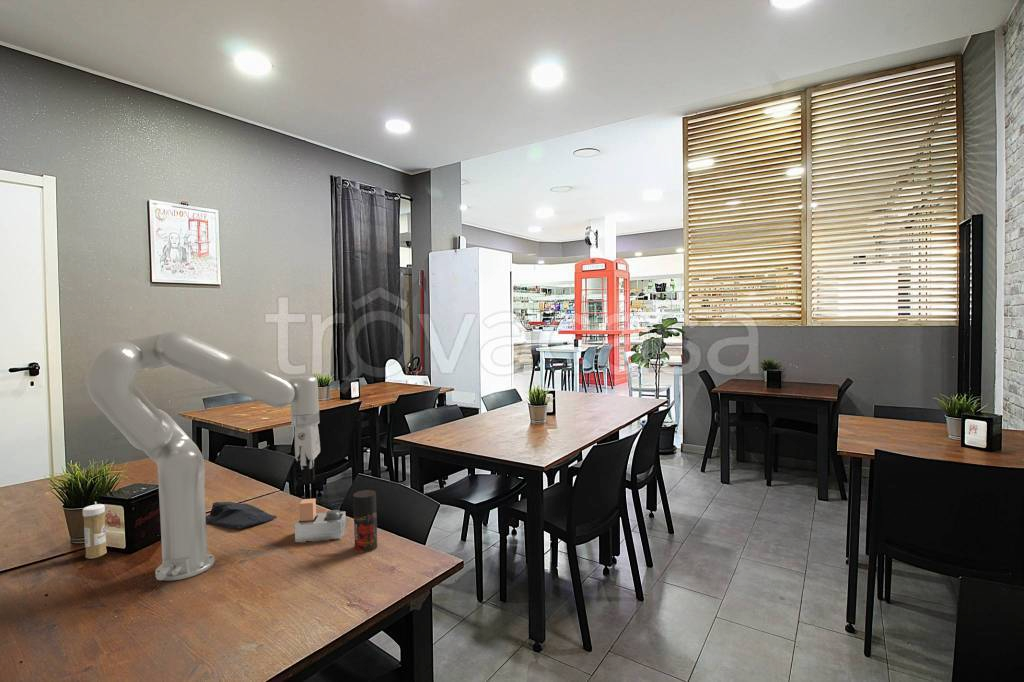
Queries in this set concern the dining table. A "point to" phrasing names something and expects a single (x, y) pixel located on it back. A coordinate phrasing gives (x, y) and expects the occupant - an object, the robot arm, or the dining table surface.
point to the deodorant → (365, 521)
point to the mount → (320, 528)
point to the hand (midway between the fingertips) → (308, 481)
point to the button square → (307, 509)
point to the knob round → (333, 515)
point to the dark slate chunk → (237, 515)
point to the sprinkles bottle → (94, 531)
